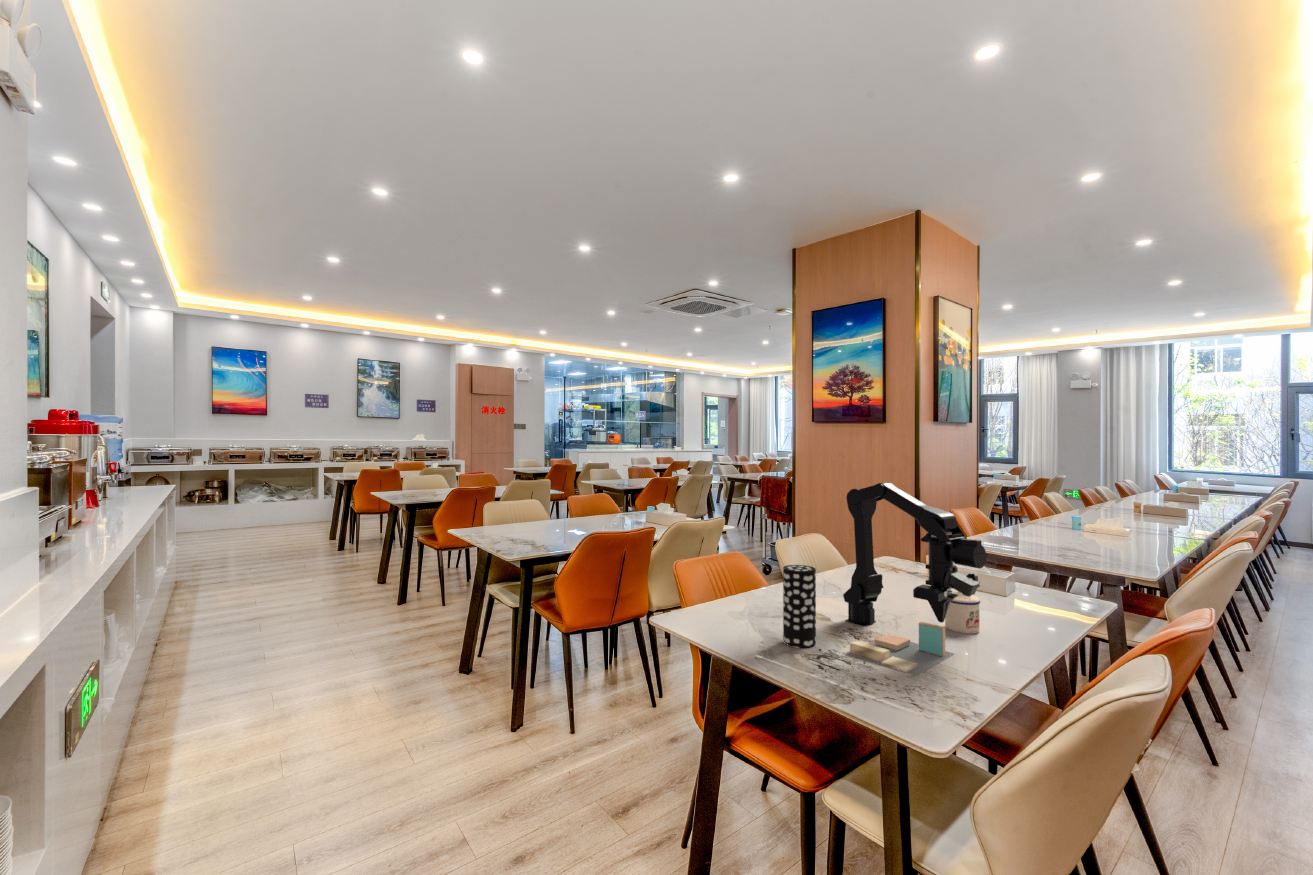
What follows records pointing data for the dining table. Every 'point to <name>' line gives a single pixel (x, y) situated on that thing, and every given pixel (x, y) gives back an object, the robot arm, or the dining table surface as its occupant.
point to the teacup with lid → (963, 614)
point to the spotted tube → (799, 606)
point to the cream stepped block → (881, 656)
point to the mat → (911, 657)
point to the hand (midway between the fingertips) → (941, 621)
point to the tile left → (892, 642)
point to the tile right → (932, 639)
